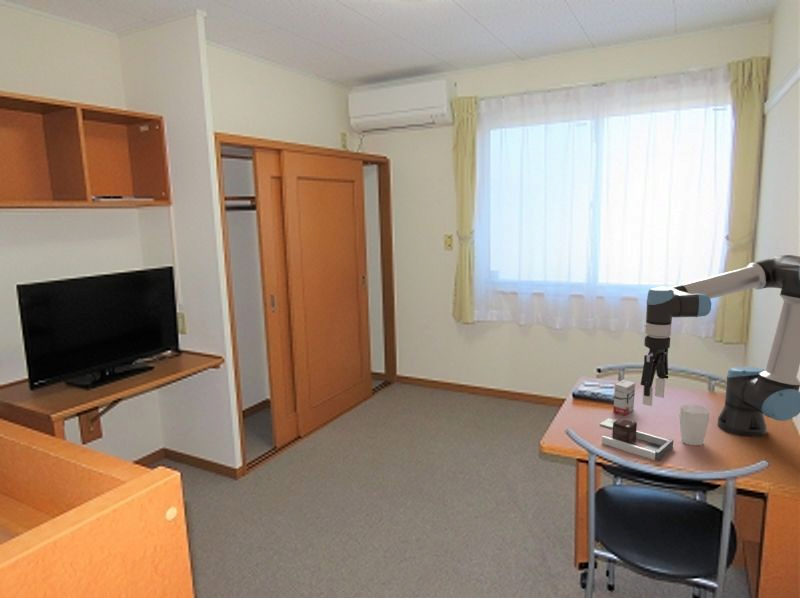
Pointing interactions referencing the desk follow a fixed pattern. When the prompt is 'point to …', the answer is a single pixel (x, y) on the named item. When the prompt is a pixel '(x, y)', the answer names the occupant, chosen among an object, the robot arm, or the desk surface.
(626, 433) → the box
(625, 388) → the ink box
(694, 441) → the cup
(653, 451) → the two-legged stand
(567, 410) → the desk surface
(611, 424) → the pad
